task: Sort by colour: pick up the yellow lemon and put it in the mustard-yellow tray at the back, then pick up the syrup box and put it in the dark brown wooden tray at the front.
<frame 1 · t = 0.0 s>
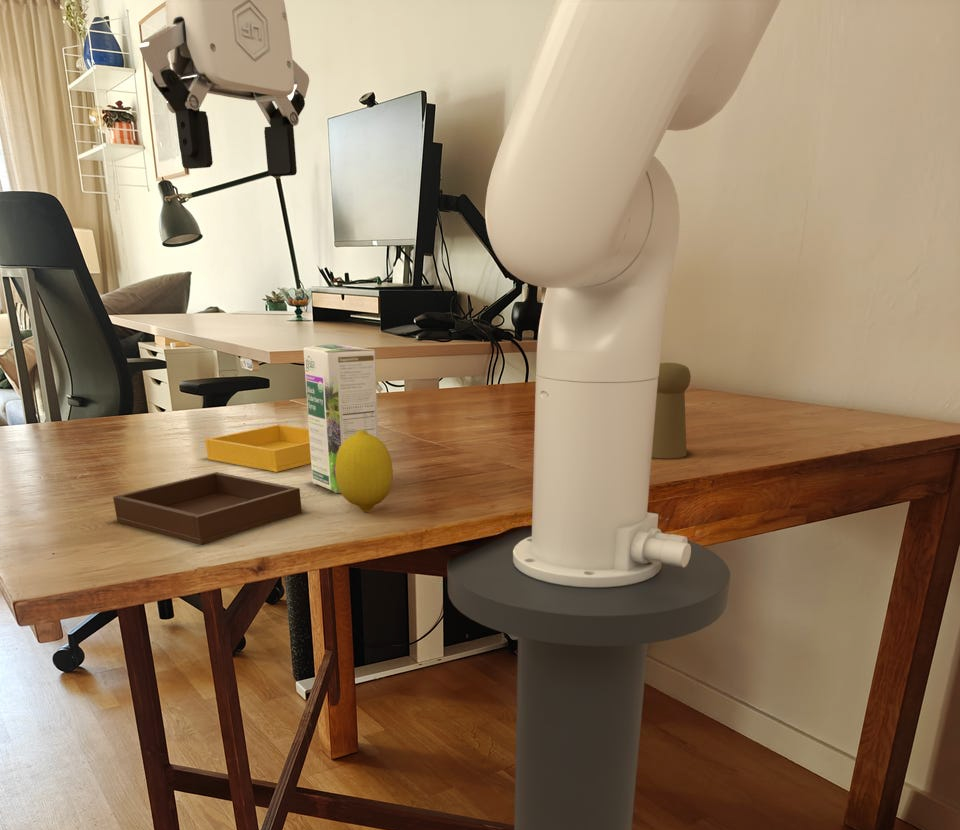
hand: (242, 171, 77), 30 cm above the table, tool pointing down, fingers open, 9 cm apart
yellow tray: (278, 456, 108), on the table
brown tray: (211, 517, 83), on the table
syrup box: (346, 486, 95), on the table
lemon: (366, 513, 85), on the table
cork: (662, 454, 110), on the table
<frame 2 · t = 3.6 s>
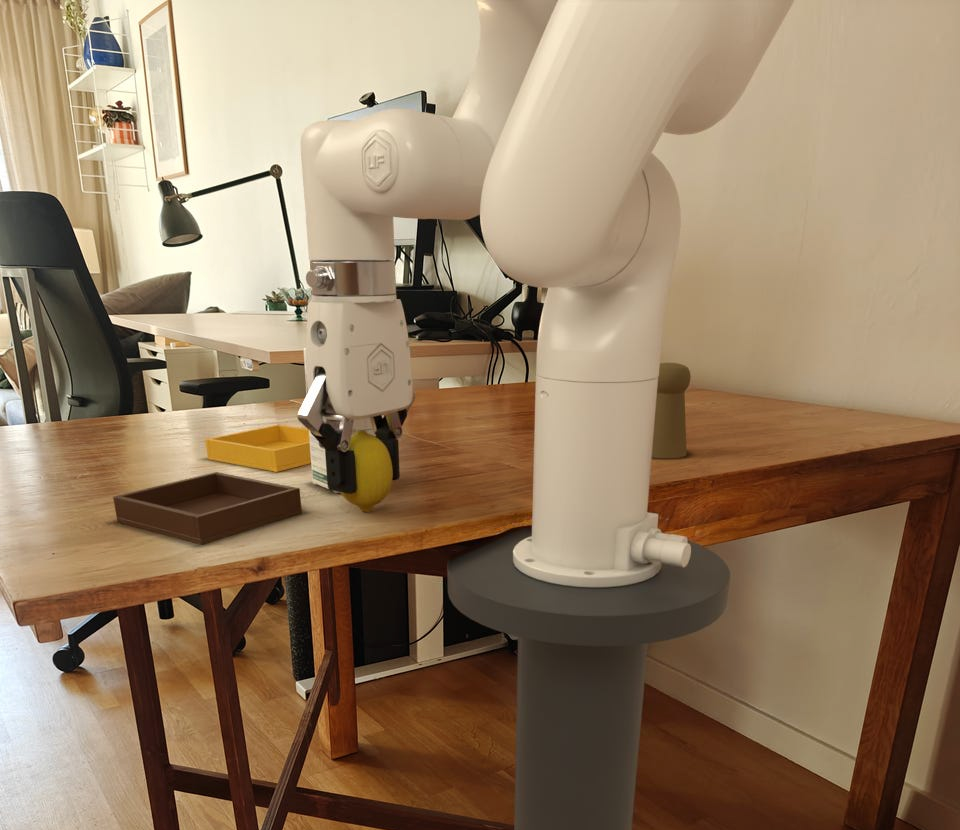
hand: (364, 482, 84), 3 cm above the table, tool pointing down, fingers closed on lemon, 5 cm apart
lemon: (366, 513, 85), on the table, touching gripper
everything else where it was.
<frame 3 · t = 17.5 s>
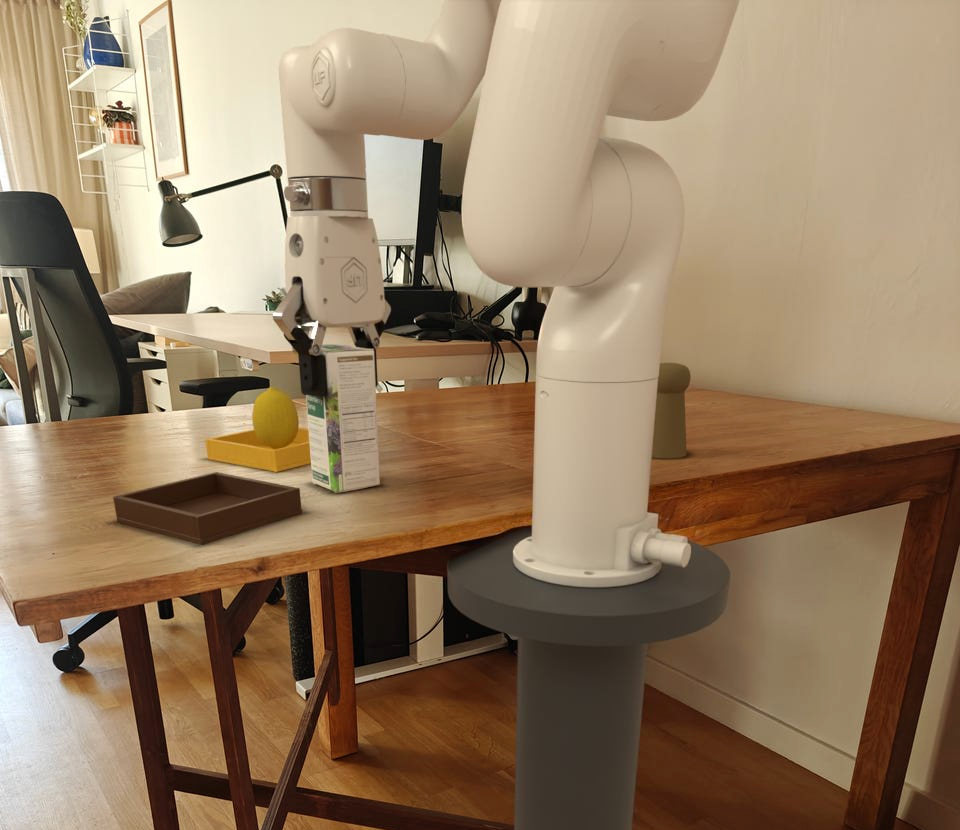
hand: (340, 389, 91), 10 cm above the table, tool pointing down, fingers closed on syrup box, 7 cm apart
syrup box: (346, 486, 95), on the table, touching gripper
lemon: (278, 454, 108), resting on yellow tray
everything else where it was.
when the fingers open (11 cm above the table, at t = 25.3 s): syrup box stays where it is, resting on brown tray.
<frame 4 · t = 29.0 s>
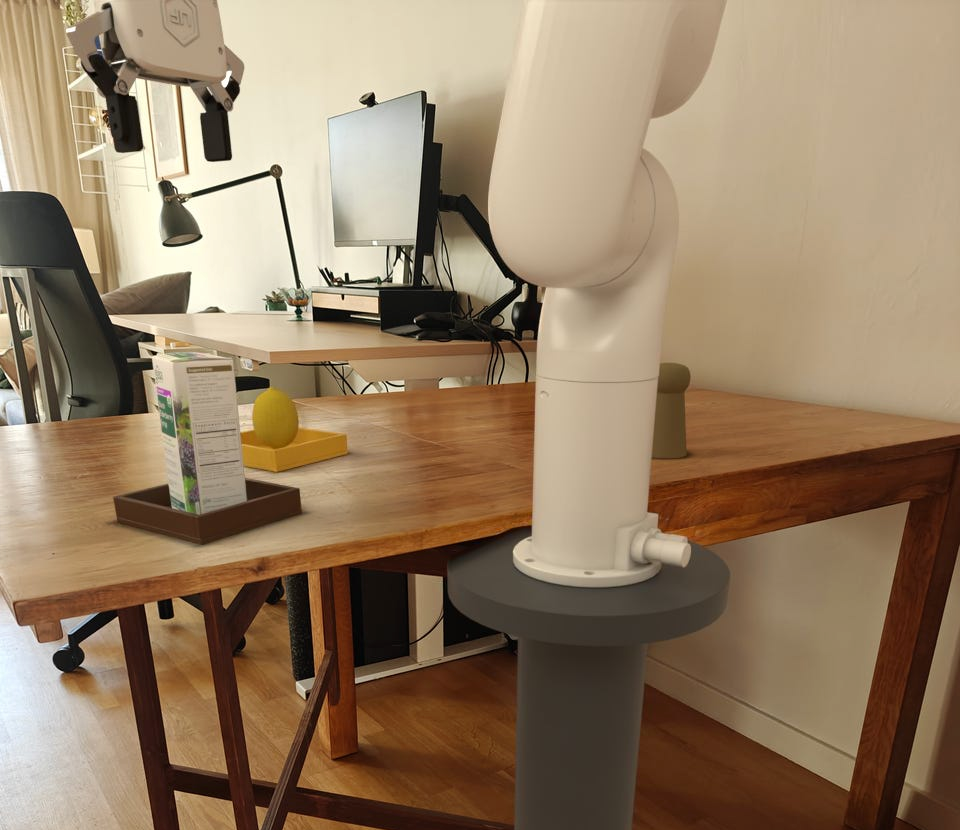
hand: (176, 156, 78), 31 cm above the table, tool pointing down, fingers open, 9 cm apart
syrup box: (211, 514, 83), resting on brown tray
everything else where it was.
at the end: lemon inside the target area in the yellow tray (0.1 cm from its centre), point 0.3 cm above the yellow tray's base; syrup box inside the target area in the brown tray (0.1 cm from its centre), point 0.3 cm above the brown tray's base; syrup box tilted 0° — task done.
